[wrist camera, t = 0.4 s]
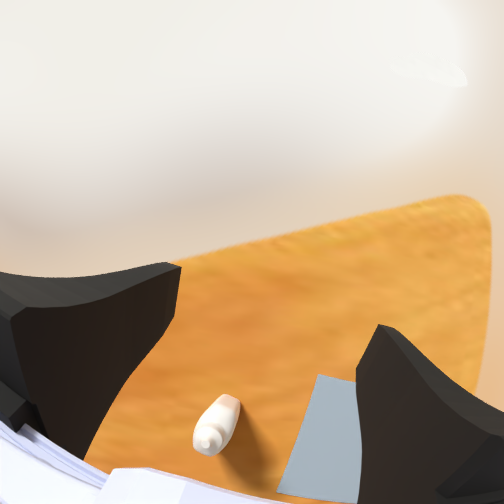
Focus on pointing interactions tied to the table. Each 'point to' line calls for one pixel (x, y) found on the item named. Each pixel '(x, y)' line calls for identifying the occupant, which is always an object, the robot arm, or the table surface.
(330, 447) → the mat
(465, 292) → the table surface
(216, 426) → the eye dropper bottle
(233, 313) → the table surface
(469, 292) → the table surface
